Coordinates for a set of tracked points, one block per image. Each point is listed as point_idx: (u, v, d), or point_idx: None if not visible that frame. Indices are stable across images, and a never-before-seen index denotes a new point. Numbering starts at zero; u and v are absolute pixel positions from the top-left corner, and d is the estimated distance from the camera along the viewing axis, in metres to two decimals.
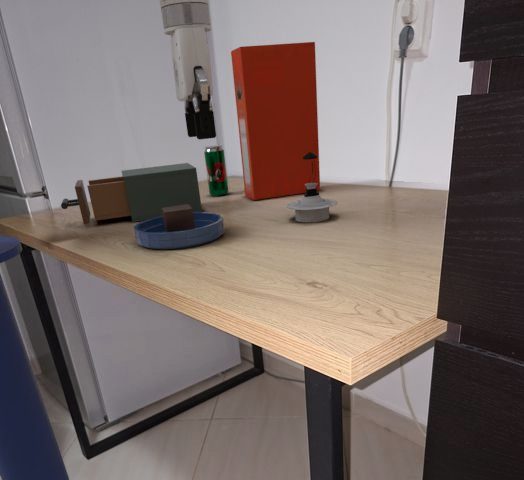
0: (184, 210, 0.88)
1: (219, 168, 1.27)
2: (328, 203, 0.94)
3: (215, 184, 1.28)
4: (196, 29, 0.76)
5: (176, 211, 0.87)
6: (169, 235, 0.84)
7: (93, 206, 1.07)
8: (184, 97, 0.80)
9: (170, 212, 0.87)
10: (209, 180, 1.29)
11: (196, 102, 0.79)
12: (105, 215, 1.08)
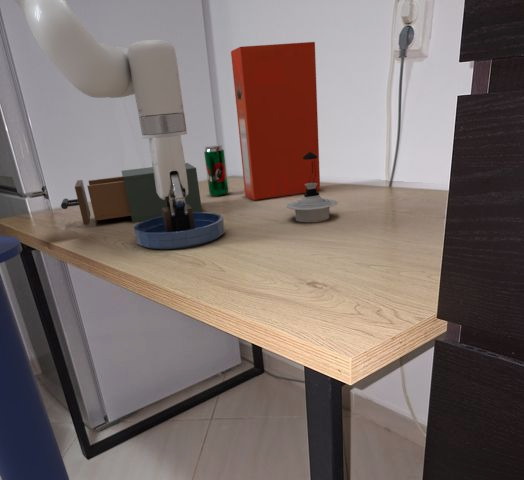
0: None
1: (219, 168, 1.27)
2: (328, 203, 0.94)
3: (215, 184, 1.28)
4: (172, 138, 0.81)
5: None
6: (169, 235, 0.84)
7: (93, 206, 1.07)
8: (161, 198, 0.84)
9: (170, 212, 0.87)
10: (209, 180, 1.29)
11: (172, 209, 0.86)
12: (105, 215, 1.08)
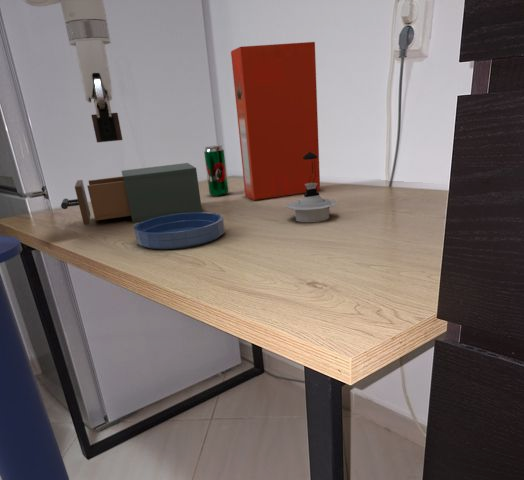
0: None
1: (219, 168, 1.27)
2: (328, 203, 0.94)
3: (215, 184, 1.28)
4: (93, 42, 0.90)
5: None
6: (169, 235, 0.84)
7: (93, 206, 1.07)
8: (86, 99, 0.94)
9: None
10: (209, 180, 1.29)
11: (97, 110, 0.95)
12: (105, 215, 1.08)
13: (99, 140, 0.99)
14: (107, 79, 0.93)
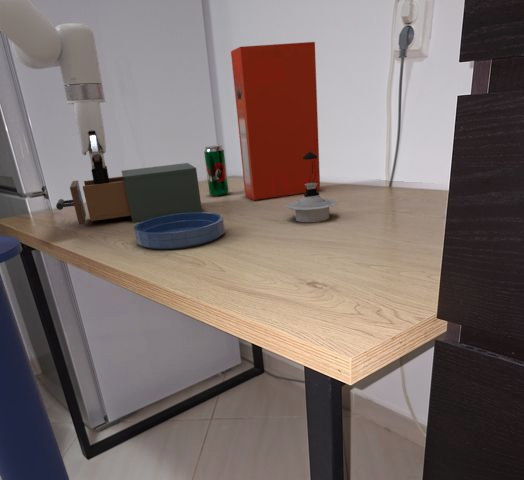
0: None
1: (219, 168, 1.27)
2: (328, 203, 0.94)
3: (215, 184, 1.28)
4: (89, 103, 0.99)
5: None
6: (169, 235, 0.84)
7: (88, 207, 1.07)
8: (82, 153, 1.03)
9: None
10: (209, 180, 1.29)
11: (92, 162, 1.04)
12: (100, 216, 1.08)
13: None
14: (102, 136, 1.02)
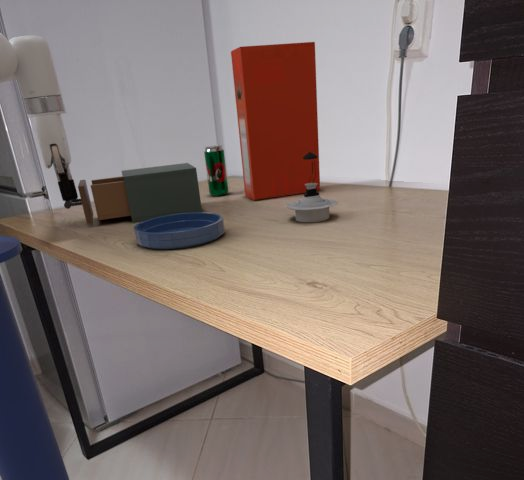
0: None
1: (219, 168, 1.27)
2: (328, 203, 0.94)
3: (215, 184, 1.28)
4: (49, 116, 0.98)
5: None
6: (169, 235, 0.84)
7: (96, 206, 1.07)
8: (46, 166, 1.02)
9: None
10: (209, 180, 1.29)
11: (58, 177, 1.06)
12: (108, 215, 1.08)
13: None
14: (64, 148, 1.01)
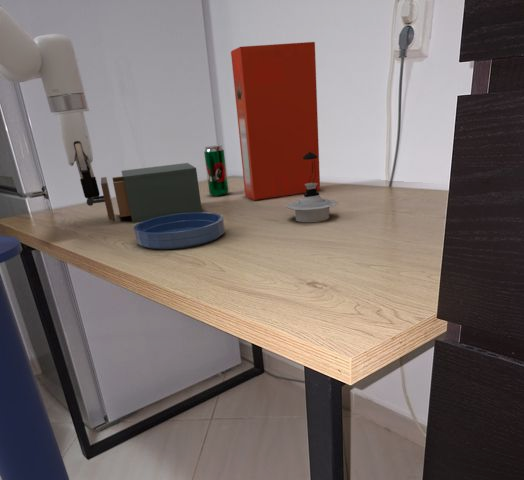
0: None
1: (219, 168, 1.27)
2: (328, 203, 0.94)
3: (215, 184, 1.28)
4: (72, 114, 0.99)
5: None
6: (169, 235, 0.84)
7: (118, 203, 1.08)
8: (69, 164, 1.03)
9: None
10: (209, 180, 1.29)
11: (80, 174, 1.07)
12: (130, 212, 1.09)
13: None
14: (87, 146, 1.02)
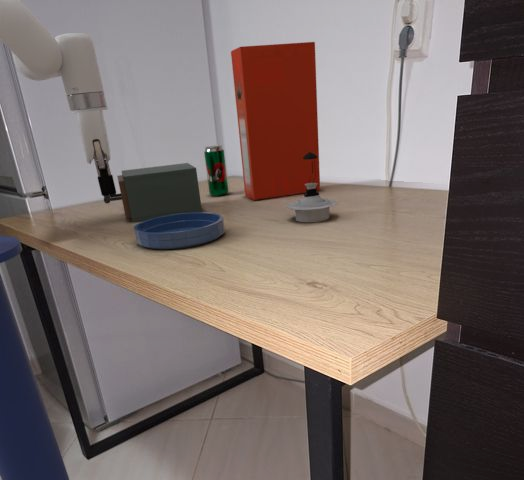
0: None
1: (219, 168, 1.27)
2: (328, 203, 0.94)
3: (215, 184, 1.28)
4: (92, 112, 1.00)
5: None
6: (169, 235, 0.84)
7: None
8: None
9: None
10: (209, 180, 1.29)
11: (98, 172, 1.07)
12: None
13: None
14: (106, 144, 1.03)
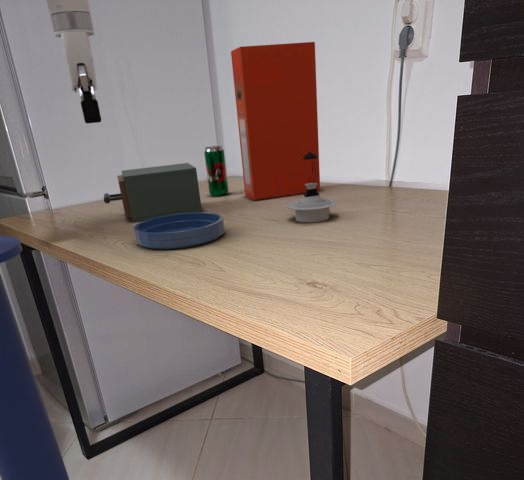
0: None
1: (219, 168, 1.27)
2: (328, 203, 0.94)
3: (215, 184, 1.28)
4: (77, 33, 0.94)
5: None
6: (169, 235, 0.84)
7: None
8: (72, 88, 0.98)
9: None
10: (209, 180, 1.29)
11: (81, 92, 0.97)
12: None
13: None
14: (92, 69, 0.97)
